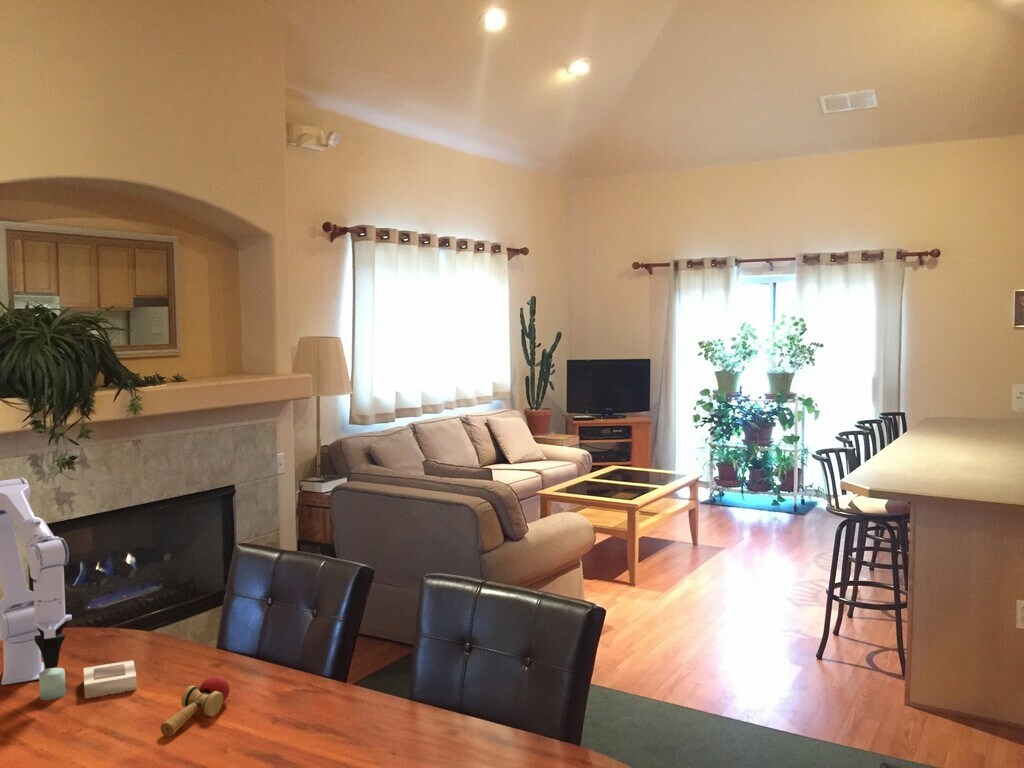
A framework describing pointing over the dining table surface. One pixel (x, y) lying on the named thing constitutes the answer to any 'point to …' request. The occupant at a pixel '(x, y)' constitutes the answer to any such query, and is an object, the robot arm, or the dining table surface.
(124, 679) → the birch base
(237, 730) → the dining table surface
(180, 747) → the dining table surface
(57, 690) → the pale green rounded cylinder
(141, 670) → the dining table surface
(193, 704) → the kendama
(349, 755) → the dining table surface
